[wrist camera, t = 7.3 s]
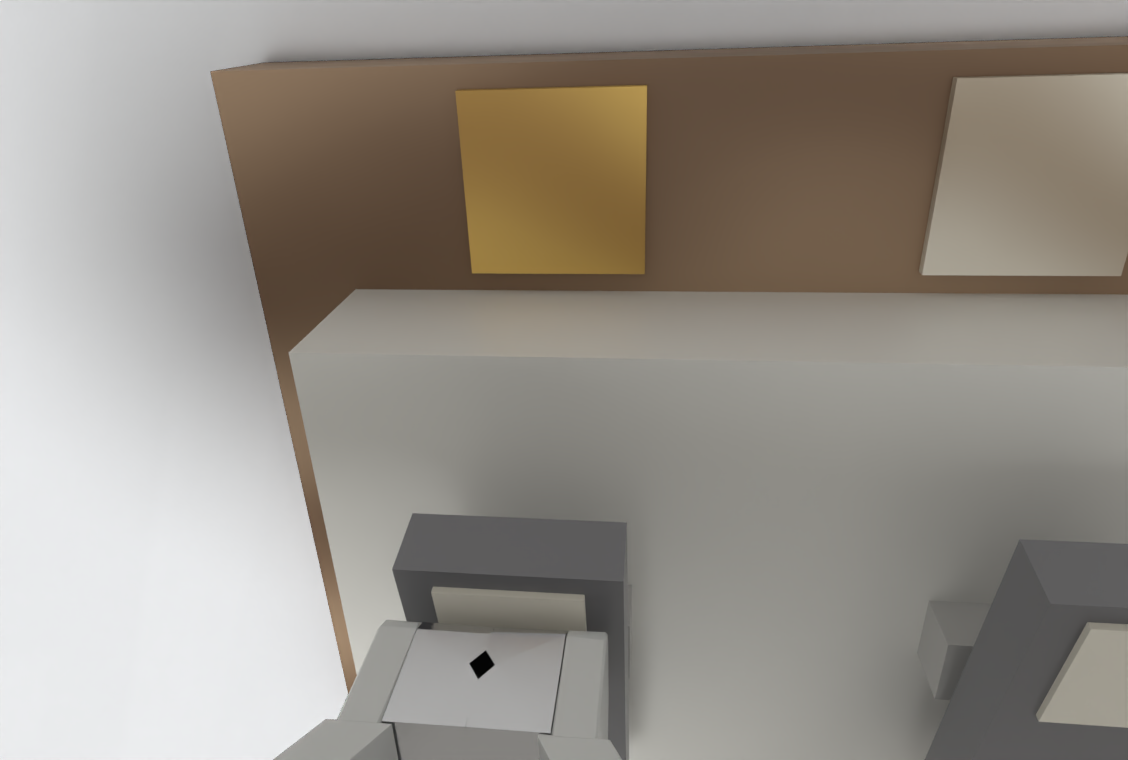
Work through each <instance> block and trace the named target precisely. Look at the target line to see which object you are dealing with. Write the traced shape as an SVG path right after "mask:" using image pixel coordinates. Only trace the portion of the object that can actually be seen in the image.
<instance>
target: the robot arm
mask: <svg viewBox="0 0 1128 760" xmlns="http://www.w3.org/2000/svg"><path fill="white" fill-rule="evenodd" d="M608 705H609V682H608V635H607V633H606V632H591V631H566V630H544V629H523V628H502V627H495V628H492V627H479V626H467V625H455V624H443V623H431V622H422V623H421V622H409V621H397V620H386V621H385V622H384V623H383V624H382V625H381V626H380V627H379V628H378V629H377V632H376V634H375V636H374V638H373V641H372V643H371V645H370V647H369V649H368V652H367V654H366V656H365V658H364V661H363V663H362V665H361V667H360V669H359V672H358V674H357V676H356V678H355V680H354V683H353V685H352V687H351V689H350V692H349V694H348V696H347V698H346V700H345V703H344V705H343V707H342V709H341V712H340V714H339V716H338V718H337V720H334V719H325V720H324V721H323V722H321V723H320V724H319V725H317V726H316V727H315V728H313V729H312V730H311V731H310V732H308V733H307V734H306V735H304V736H303V737H302V738H300V739H299V740H298V741H297V742H295V743H294V744H293V745H291V746H290V747H289V748H287V749H286V750H285V751H284V752H282V753H281V754H280V755H278V756H277V757H276V758H274V759H273V760H622V759H621V757H620V756H619V754H618V752H617V751H616V749H615V747H614V746H613V744H612V742H611V741H610V740H608Z"/></svg>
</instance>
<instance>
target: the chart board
mask: <svg viewBox="0 0 1128 760" xmlns="http://www.w3.org/2000/svg"><path fill="white" fill-rule="evenodd" d="M211 77H212V81H213V86H214V90H215V95H216V99H217V104H218V108H219V113H220V117H221V122H222V126H223V131H224V135H225V140H226V144H227V149H228V153H229V158H230V163H231V167H232V172H233V176H234V181H235V185H236V190H237V194H238V199H239V203H240V208H241V212H242V217H243V221H244V226H245V230H246V235H247V239H248V244H249V248H250V253H251V257H252V262H253V266H254V271H255V275H256V280H257V284H258V289H259V293H260V298H261V302H262V307H263V311H264V316H265V320H266V325H267V329H268V334H269V338H270V343H271V347H272V352H273V356H274V361H275V365H276V370H277V374H278V379H279V384H280V388H281V393H282V397H283V402H284V406H285V411H286V415H287V420H288V424H289V429H290V433H291V438H292V442H293V447H294V451H295V456H296V460H297V465H298V469H299V474H300V478H301V483H302V487H303V492H304V496H305V501H306V505H307V510H308V514H309V519H310V523H311V528H312V532H313V537H314V541H315V546H316V550H317V555H318V559H319V564H320V568H321V573H322V577H323V582H324V586H325V591H326V595H327V600H328V605H329V609H330V614H331V618H332V623H333V627H334V632H335V636H336V641H337V645H338V650H339V654H340V659H341V663H342V668H343V672H344V677H345V681H346V686H347V690H348V694H349V692H350V689H351V687H352V685H353V683H354V680H355V678H356V676H357V674H356V669H355V664H354V660H353V655H352V650H351V645H350V641H349V636H348V631H347V626H346V622H345V617H344V612H343V608H342V603H341V598H340V593H339V589H338V584H337V579H336V575H335V570H334V565H333V560H332V556H331V551H330V546H329V541H328V537H327V532H326V527H325V523H324V518H323V513H322V508H321V504H320V499H319V494H318V490H317V485H316V480H315V475H314V471H313V466H312V461H311V456H310V452H309V447H308V442H307V438H306V433H305V428H304V423H303V419H302V414H301V409H300V404H299V400H298V395H297V390H296V386H295V381H294V376H293V371H292V367H291V362H290V357H289V352H290V351H291V350H292V349H293V348H294V347H295V346H296V345H297V344H298V343H299V342H300V341H301V340H303V339H304V338H305V337H306V336H307V335H308V334H309V333H310V332H311V331H312V330H313V329H314V328H315V327H316V326H317V325H318V324H319V323H320V322H322V321H323V320H324V319H325V318H326V317H327V316H328V315H329V314H330V313H331V312H332V311H333V310H334V309H335V308H336V307H337V306H338V305H339V304H341V303H342V302H343V301H344V300H345V299H346V298H347V297H348V296H349V295H350V294H351V293H352V292H353V291H354V290H355V289H389V290H535V291H680V292H826V293H972V294H1118V295H1128V36H1125V37H1092V38H1059V39H1026V40H994V41H961V42H928V43H895V44H862V45H829V46H796V47H763V48H731V49H698V50H665V51H632V52H599V53H566V54H533V55H500V56H468V57H435V58H402V59H369V60H336V61H303V62H270V63H259V64H253V65H247V66H241V67H235V68H229V69H223V70H217V71H211Z"/></svg>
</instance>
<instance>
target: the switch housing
mask: <svg viewBox="0 0 1128 760" xmlns="http://www.w3.org/2000/svg"><path fill="white" fill-rule="evenodd" d="M289 357H290V362H291V367H292V371H293V376H294V381H295V386H296V390H297V395H298V400H299V404H300V409H301V414H302V419H303V423H304V428H305V433H306V438H307V442H308V447H309V452H310V456H311V461H312V466H313V471H314V475H315V480H316V485H317V490H318V494H319V499H320V504H321V508H322V513H323V518H324V523H325V527H326V532H327V537H328V541H329V546H330V551H331V556H332V560H333V565H334V570H335V575H336V579H337V584H338V589H339V593H340V598H341V603H342V608H343V612H344V617H345V622H346V626H347V631H348V636H349V641H350V645H351V650H352V655H353V660H354V664H355V669H356V674H358V672H359V669H360V667H361V665H362V663H363V661H364V658H365V656H366V654H367V652H368V649H369V647H370V645H371V643H372V641H373V638H374V636H375V634H376V632H377V629H378V628H379V627H380V626H381V625H382V624H383V623H384V622H385V621H386V620H397V621H406V617H405V614H404V610H403V607H402V603H401V600H400V596H399V593H398V589H397V585H396V582H395V578H394V575H393V571H392V568H393V565H394V563H395V560H396V557H397V554H398V552H399V549H400V546H401V543H402V541H403V538H404V535H405V532H406V530H407V527H408V524H409V521H410V519H411V516H412V513H419V514H442V515H466V516H489V517H512V518H536V519H559V520H582V521H606V522H627V575H628V685H629V760H925V758H926V755H927V753H928V751H929V748H930V746H931V744H932V741H933V739H934V737H935V734H936V732H937V730H938V727H939V725H940V723H941V720H942V718H943V716H944V713H945V711H946V709H947V707H948V704H949V702H950V700H951V697H952V695H953V693H954V690H955V688H956V686H957V683H958V681H959V679H960V676H961V674H962V672H963V669H964V667H965V665H966V662H967V660H968V658H969V655H970V653H971V651H972V648H973V646H974V644H975V641H976V639H977V637H978V635H979V632H980V630H981V628H982V625H983V623H984V621H985V618H986V616H987V614H988V611H989V609H990V607H991V604H992V602H993V600H994V597H995V595H996V593H997V590H998V588H999V586H1000V583H1001V581H1002V579H1003V576H1004V574H1005V572H1006V569H1007V567H1008V565H1009V562H1010V560H1011V558H1012V556H1013V553H1014V551H1015V549H1016V546H1017V544H1018V542H1019V539H1026V540H1049V541H1072V542H1096V543H1119V544H1128V295H1118V294H972V293H826V292H680V291H535V290H389V289H355V290H354V291H353V292H352V293H351V294H350V295H349V296H348V297H347V298H346V299H345V300H344V301H343V302H342V303H341V304H339V305H338V306H337V307H336V308H335V309H334V310H333V311H332V312H331V313H330V314H329V315H328V316H327V317H326V318H325V319H324V320H323V321H322V322H320V323H319V324H318V325H317V326H316V327H315V328H314V329H313V330H312V331H311V332H310V333H309V334H308V335H307V336H306V337H305V338H304V339H303V340H301V341H300V342H299V343H298V344H297V345H296V346H295V347H294V348H293V349H292V350H291V351H290V352H289Z"/></svg>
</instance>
